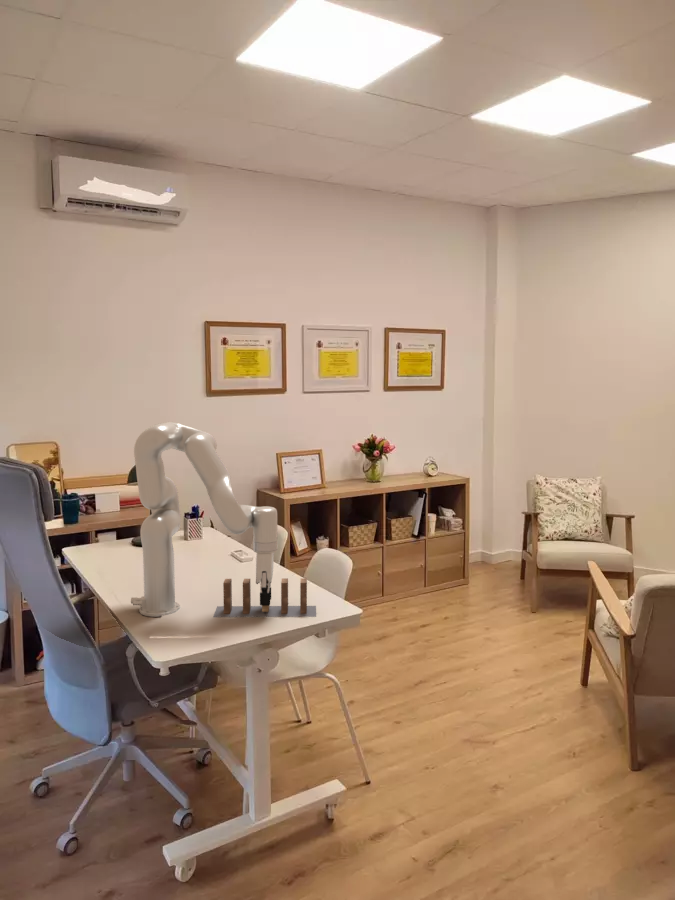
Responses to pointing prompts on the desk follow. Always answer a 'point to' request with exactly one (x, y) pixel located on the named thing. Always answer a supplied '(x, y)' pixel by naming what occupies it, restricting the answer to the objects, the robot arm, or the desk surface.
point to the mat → (257, 612)
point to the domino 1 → (227, 595)
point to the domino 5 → (303, 596)
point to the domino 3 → (266, 608)
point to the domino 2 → (246, 596)
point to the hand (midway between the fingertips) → (265, 601)
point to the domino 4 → (284, 596)
